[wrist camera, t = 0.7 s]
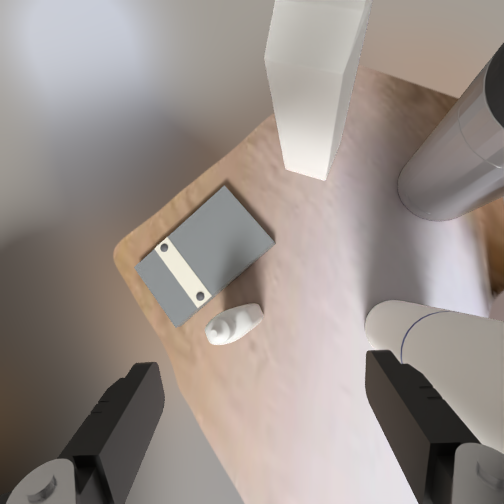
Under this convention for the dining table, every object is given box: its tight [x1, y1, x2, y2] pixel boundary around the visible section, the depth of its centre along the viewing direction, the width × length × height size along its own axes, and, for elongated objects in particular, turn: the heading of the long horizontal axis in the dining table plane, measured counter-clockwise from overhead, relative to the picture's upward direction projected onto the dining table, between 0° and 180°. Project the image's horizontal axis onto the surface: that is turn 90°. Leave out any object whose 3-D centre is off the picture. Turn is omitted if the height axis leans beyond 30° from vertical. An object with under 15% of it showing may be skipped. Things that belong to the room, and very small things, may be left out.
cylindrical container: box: [365, 300, 504, 454], centre depth 20 cm, size 7×7×25 cm
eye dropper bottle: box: [205, 303, 264, 345], centre depth 30 cm, size 4×6×12 cm
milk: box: [264, 0, 373, 181], centre depth 26 cm, size 6×6×22 cm
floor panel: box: [134, 185, 275, 327], centre depth 37 cm, size 18×11×2 cm, turn 130°
